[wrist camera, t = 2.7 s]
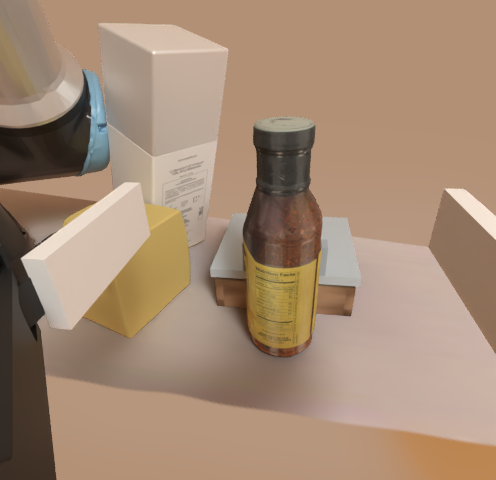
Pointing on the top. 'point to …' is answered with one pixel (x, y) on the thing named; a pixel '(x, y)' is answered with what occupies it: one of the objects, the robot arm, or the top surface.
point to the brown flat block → (328, 298)
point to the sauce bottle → (282, 239)
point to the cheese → (145, 275)
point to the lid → (332, 255)
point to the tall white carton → (164, 114)
